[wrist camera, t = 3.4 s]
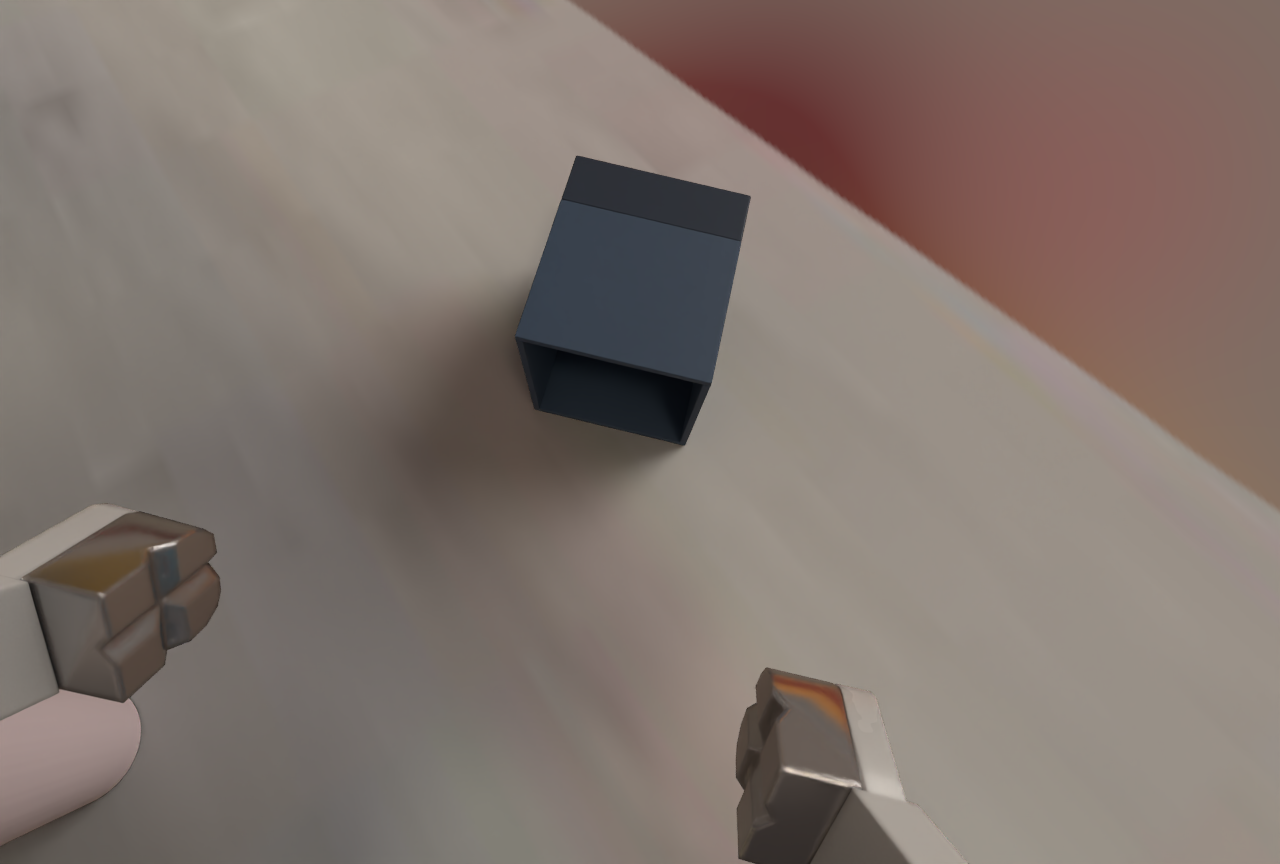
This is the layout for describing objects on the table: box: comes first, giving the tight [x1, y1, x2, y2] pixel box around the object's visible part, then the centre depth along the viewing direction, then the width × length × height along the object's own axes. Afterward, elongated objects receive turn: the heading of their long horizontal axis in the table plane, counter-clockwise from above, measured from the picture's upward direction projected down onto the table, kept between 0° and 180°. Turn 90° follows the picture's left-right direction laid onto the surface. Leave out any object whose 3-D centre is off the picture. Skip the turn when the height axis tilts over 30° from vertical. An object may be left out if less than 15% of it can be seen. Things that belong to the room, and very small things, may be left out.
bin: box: [515, 156, 751, 445], centre depth 24 cm, size 8×6×6 cm
